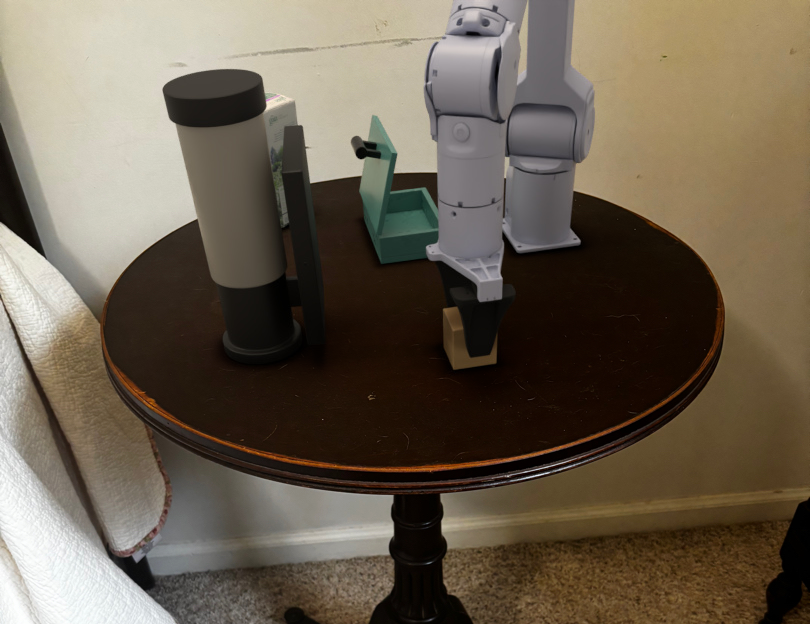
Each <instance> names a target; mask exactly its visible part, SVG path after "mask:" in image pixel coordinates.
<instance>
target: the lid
mask: <svg viewBox="0 0 810 624" xmlns="http://www.w3.org/2000/svg"><path fill="white" fill-rule="evenodd" d="M350 145H351V147H352V150H353V152H354V155H355V157H356V158H357V159H358V160H361V161H362V160H363V167H362V173H361V177H360V185H359V191H358V192H359V194H360V197H361V199H363V200H362V203H363V202H364V205H365V207H366V210H367V212H368V215H369V217H370V220H371V222H372V225H373V227H374V230H375V232H376V234H378V235H382V232H383V226H384V221H385V216H386V211H387V206H388V201H389V195H390V192H391V189H392V185H393V181H394V180H393V179H394V174H395V170H396V165H397V160H398V159H397V158H398V151H397V149H396V148H395V146H394V144H393V142H392V141H391V138H390V137H389V135H388V133H387V131H386V129H385V127H384V125H383V124H382V122H381V120H380V117H378V115H374V114H372V115H371V120H370V126H369V132H368V137H367V140H363V138H362V137H361V136H359V135H354V136H352V137H351V139H350Z"/></svg>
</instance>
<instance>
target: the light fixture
mask: <svg viewBox="0 0 810 624" xmlns="http://www.w3.org/2000/svg"><path fill="white" fill-rule="evenodd" d="M265 92H266V91H265V85H264V78H263V76H262V75H261V74H260V73H258V72H256V71H253V70H247V69H242V68H220V69H219V68H218V69H209V70H202V71H196V72H192V73H187V74H184V75H180V76H178V77H176V78H173V79H171V80H169V81H168V82H166V83H164V85H163V87H162V95H163V99H164V104H165V107H166V112H167V115H168V120H169V121H170V122H172V123H174V124H175V129H176V132H177V136H178V141H179V145H180V150H181V155H182V158H183V162H184V167H185V171H186V175H187V179H188V184H189V189H190V192H191V197H192V201H193V205H194V211H195V214H196V218H197V222H198V227H199V231H200V234H201V240H202V244H203V248H204V253H205V257H206V261H207V265H208V270H209V274H210V277H211V279H212V280H213V282H215V286H216V290H217V294H218V299H219V303H220V307H221V312H222V316H223V320H224V325H225V329H226V330H225V331H224V332H223V334H222V344H223V348H224V352H225V353H226V355H227V356H228V357H229V358H230V359H232V360H233V361H235V362H238V363H242V364H245V365H246V364H247V365H266V364H272V363H276V362H279V361H281V360H284V359H286V358H288V357H290V356H292V355H293V354H295V353H296V352H297V351H298V350H299V349H300V348H301V345H302V343H303V334H302V333H303V332H302V327H301V325H300V323H299V322H298V321H297V320H295V319H294V317H293V310H292V309H293V308H297V307H298V308H299V307H301V310H302V311H301V312H302V317H303V324H304V331H305V337H306V343H307V346H317V345H325V344H326V342H327V340H326V315H325V313H326V312H325V287H324V286H325V285H324V279H323V271H322V262H321V256H320V254H321V253H320V248H319V241H318V240H319V239H318V233H317V225H316V217H315V210H314V209H315V208H314V202H313V193H312V186H311V178H310V177H311V176H310V169H309V162H308V155H307V147H306V140H305V132H304V127H303V125H302V124H298V125H295V126H285V127H284V137H283V155H282V173H281V175H282V181H283V188H284V194H285V201H286V207H287V214H288V220H289V225H288V227H289V233H290V240H291V246H292V252H293V259H294V265H295V271H296V275H291V276H287V273H286V271H287V269H288V260H287V254H286V248H285V241H284V240H285V239H284V235H283V228H281V222H280V216H279V209H278V203H277V197H276V191H275V184H274V178H273V172H272V166H271V159H270V153H269V147H268V141H267V135H266V128H265V122H264V116H263V112H264V111H265V109H266V107H267V104H266V98H265Z"/></svg>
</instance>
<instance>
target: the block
mask: <svg viewBox="0 0 810 624" xmlns="http://www.w3.org/2000/svg"><path fill="white" fill-rule="evenodd" d="M442 327H443V328H442V330H443V331H442V333H443V337H442V338H443V349H444V351H445V354H446V356H447V359H448V360H449V363H450V365H451V368H452V369H453V371H457V370H462V369H469V368H475V367H482V366H489V365H496V364H497V357H498V356H497V355H498V354H497V353H498V334H497V335H496V339H495V342H494V346H493V349H492V352H491V354H490V355H488V356H481V357H474V358H470V357H469V354H468V352H467V348H466V344H465V338H464V331H463V325H462V320H461V316H460V313H459V310H458V307H451V308H447V307H446V308H445V307H444V308H443V309H442Z"/></svg>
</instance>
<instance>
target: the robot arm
mask: <svg viewBox="0 0 810 624" xmlns="http://www.w3.org/2000/svg"><path fill="white" fill-rule="evenodd" d="M575 6H576V0H452V4H451V8H450V11H449V17H448V21H447V25H446V28H445V32H444V34H443V35H441V38H440V39H439V40H438V41H437V40H436V41H434V42H432V43H431V45H430V46H429V49H428V51H427V55H426V59H425V64H424V76H423V77H424V78H423V97H424V104H425V108H426V111H427V114H428V117H429V130H430V131H429V132H430V136H431V140H432V141H434V142H436V172H437V173H436V174H437V175H436V176H437V177H436V178H437V179H436V180H437V181H436V182H437V209H438V228H439V239H438V242H437V243H436V244H432V245H428V246H426V255H427V257H428V258H427V259H428V260H429V261H432V262H435V265H436V268H437V271H438V273H439V276H440V280H441V284H442V288H443V293H444V299H445V303H446V308H451V307H458V310H459V313H460V316H461V320H462V325H463V331H464V338H465V344H466V348H467V352H468V354H469V357H470V358H474V357H481V356H488V355H490V354H491V352H492V349H493V346H494V342H495V339H496V335H497V336H498V332H499V329H500V325H501V323H502V321H503V319H504V317H505V315H506V313H507V311H508V310H509V308H510V307H511V306H512V305H513V303H514V301H515V299H516V289H515V288H514V286H513V285H512V283H508V284H503V281H504V280H503V277H502V274H501V271H502V265H503V260H504V253H505V242H504V240H503V234H504V235H505V237H506V238H507V240H508V241H509V243H510V244H511V246H512V248H513V249H514V250H515V251H516V253H518V254H525V253H534V252H540V251H541V252H542V251H548V250H557V249H564V248H569V247H578V246H580V245H581V242H582V241H581V239H580V238H579V237H578V236H577V234H575V232H574V231H573V230H572V228H571V219H572V210H573V200H574V198H573V197H574V189H575V178H576V170H577V169H576V168H577V167H576V166H577V164H582V163H583V162H584V160H585V159H587V158H588V156H589V153H590V150H591V146H592V143H593V137H594V131H595V130H594V129H595V122H596V110H595V92H596V91H595V89H594V84H593V82H591V80H589V79H588V78H587V77H586V76H585V75H583V74H582V73H581V72H579V70H578V69H576V68H575V67H574V66H573V65H572V51H573V50H572V49H573V37H574V36H573V34H574V22H575V20H574V19H575V8H576V7H575ZM526 9H527V33H526V34H527V35H526V65H525V66H526V68H525V69H524V70H522V72H520V73H519V67H520V66H519V65H520V59H521V52H522V46H521V42H520V33H521V29H522V26H523V21H524V18H525V13H526ZM506 158H508V162H509V163H508V167H507V169H506V167H505V165H506ZM505 169H506V174H505ZM504 193H505V195H504ZM504 196H505V201H504Z"/></svg>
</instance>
